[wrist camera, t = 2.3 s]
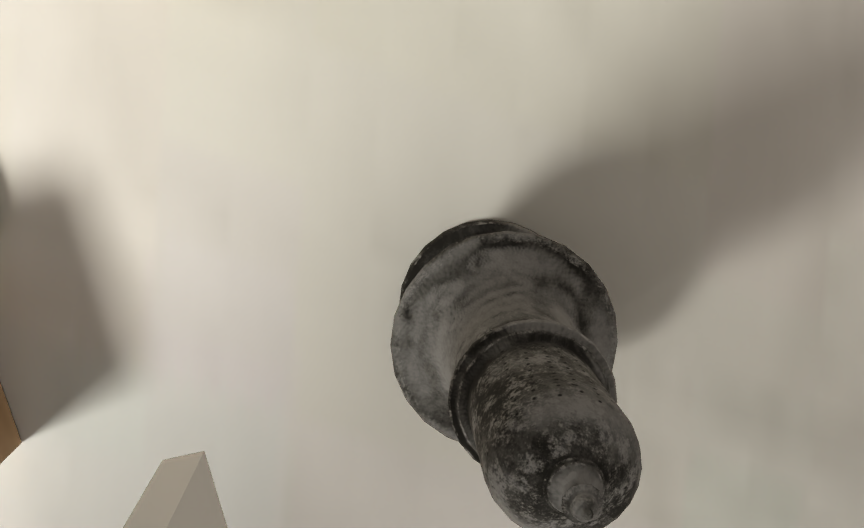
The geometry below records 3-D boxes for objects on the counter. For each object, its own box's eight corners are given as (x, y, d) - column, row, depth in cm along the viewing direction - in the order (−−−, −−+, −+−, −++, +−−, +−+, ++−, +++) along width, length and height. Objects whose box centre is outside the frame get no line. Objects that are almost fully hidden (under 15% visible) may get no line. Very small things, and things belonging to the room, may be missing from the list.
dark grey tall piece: (489, 167, 23) (602, 254, 12) (623, 304, 24) (848, 508, 13) (347, 308, 24) (318, 525, 12) (484, 435, 25) (577, 744, 13)
